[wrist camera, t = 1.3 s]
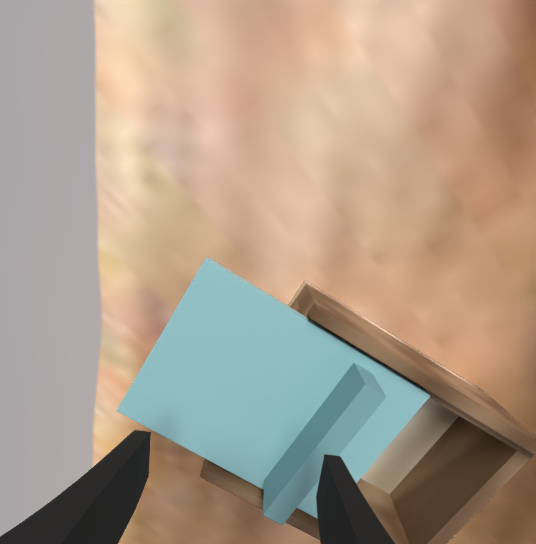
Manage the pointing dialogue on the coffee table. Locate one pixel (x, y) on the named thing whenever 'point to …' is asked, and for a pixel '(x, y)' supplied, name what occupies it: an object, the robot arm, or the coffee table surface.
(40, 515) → the robot arm
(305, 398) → the lid
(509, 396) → the coffee table surface
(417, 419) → the box
